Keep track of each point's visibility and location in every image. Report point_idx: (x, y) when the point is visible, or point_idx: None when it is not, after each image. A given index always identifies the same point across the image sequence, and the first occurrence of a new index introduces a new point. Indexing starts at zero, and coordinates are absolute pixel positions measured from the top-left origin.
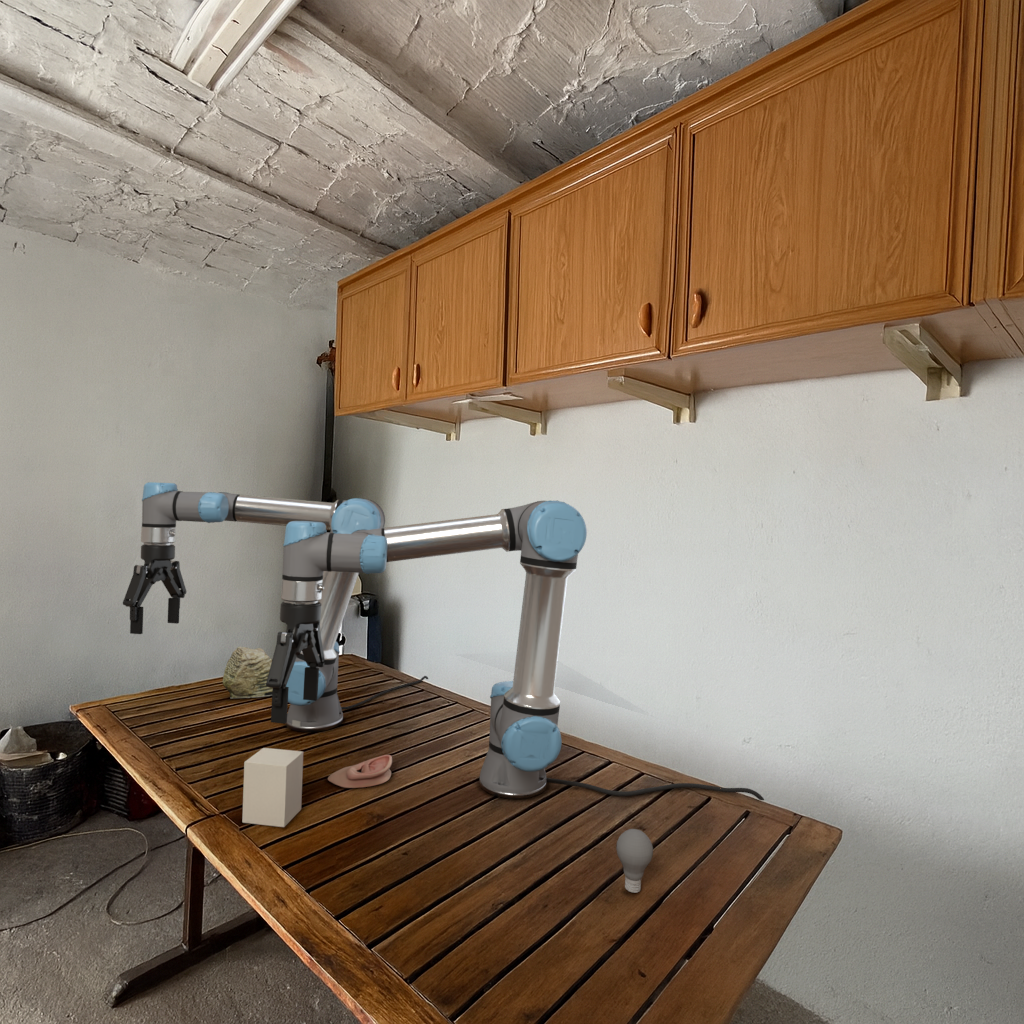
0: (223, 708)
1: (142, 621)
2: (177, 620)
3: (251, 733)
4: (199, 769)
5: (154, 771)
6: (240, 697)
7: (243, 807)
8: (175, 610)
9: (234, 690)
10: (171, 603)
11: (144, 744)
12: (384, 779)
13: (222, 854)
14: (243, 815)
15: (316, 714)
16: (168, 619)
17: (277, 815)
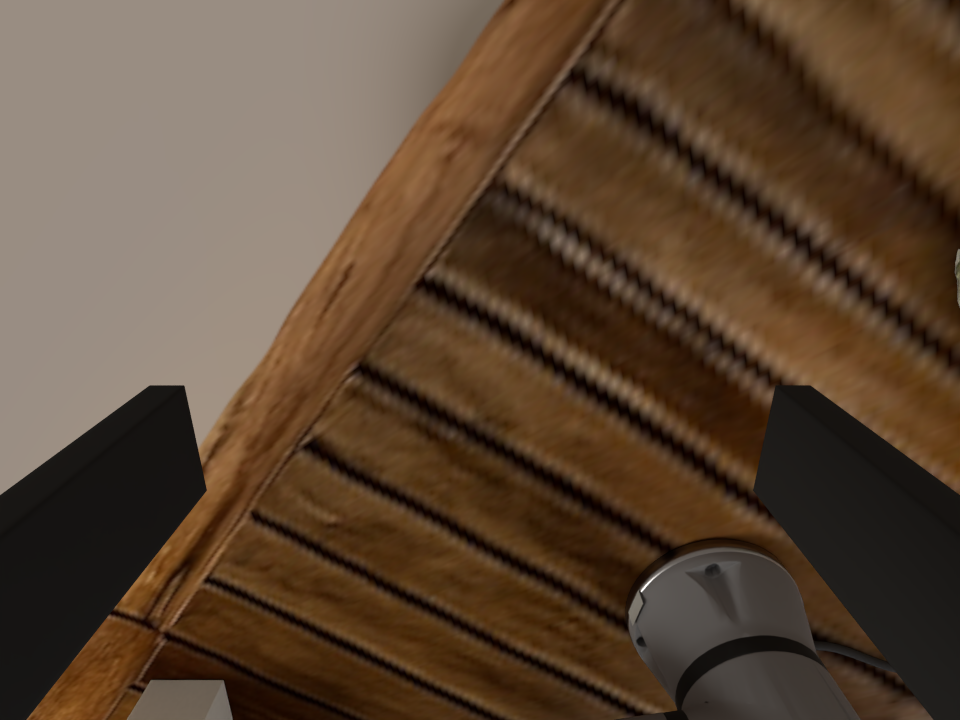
0: (833, 287)
1: (122, 585)
2: (775, 511)
3: (596, 491)
4: (327, 494)
5: (277, 400)
6: (958, 291)
7: (134, 709)
8: (849, 577)
9: None
10: (950, 603)
11: (438, 241)
12: None
13: (51, 696)
14: (143, 694)
15: (653, 672)
16: (796, 413)
17: None
